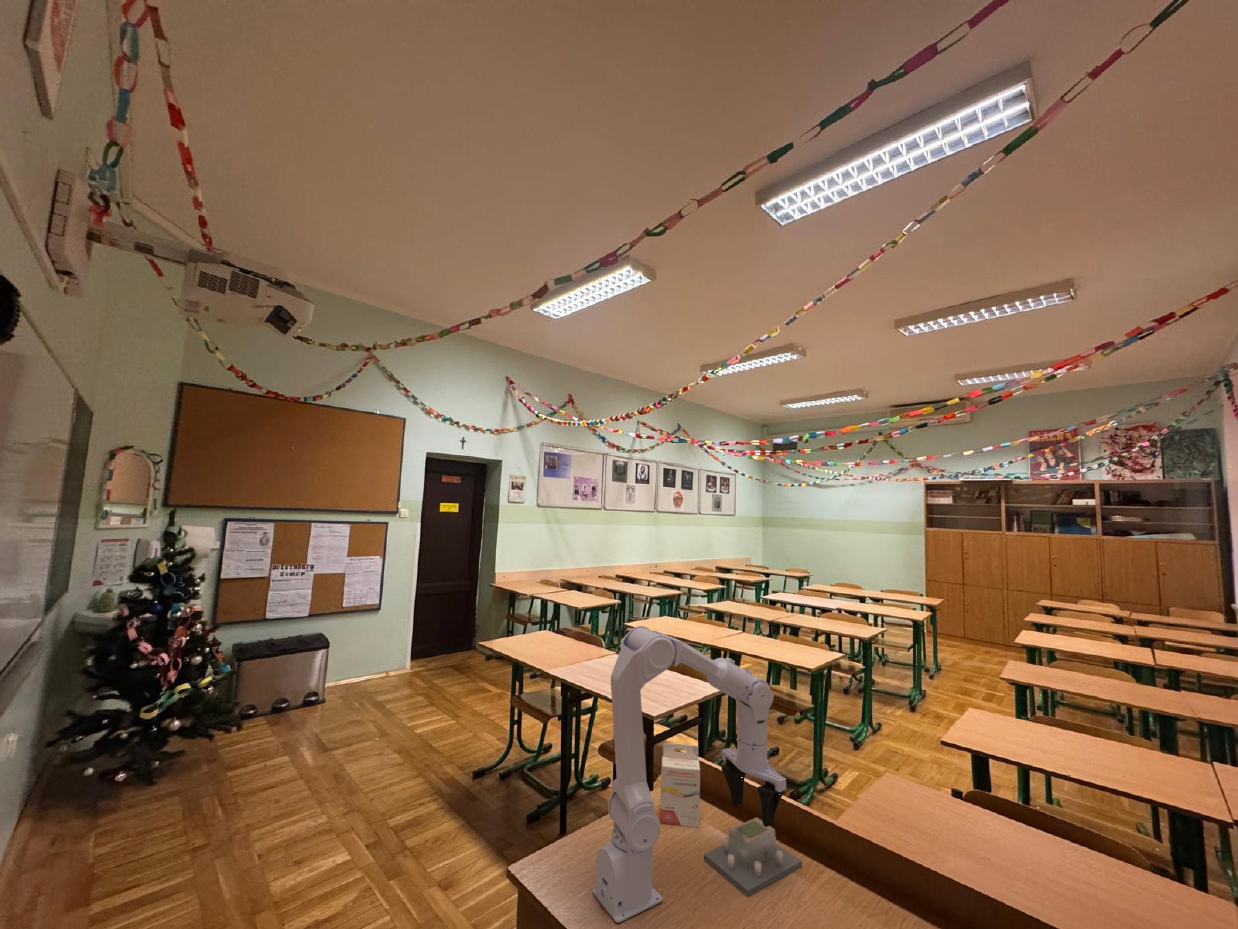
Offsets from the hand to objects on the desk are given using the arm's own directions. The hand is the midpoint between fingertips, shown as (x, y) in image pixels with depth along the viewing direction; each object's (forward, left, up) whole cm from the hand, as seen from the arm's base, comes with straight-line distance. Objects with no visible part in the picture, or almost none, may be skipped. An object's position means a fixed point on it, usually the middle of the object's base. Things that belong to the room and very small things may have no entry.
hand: (752, 814), depth 93 cm
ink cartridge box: (-3, +18, -9) cm, 20 cm away
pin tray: (0, 0, -9) cm, 9 cm away
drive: (0, 0, -8) cm, 8 cm away
